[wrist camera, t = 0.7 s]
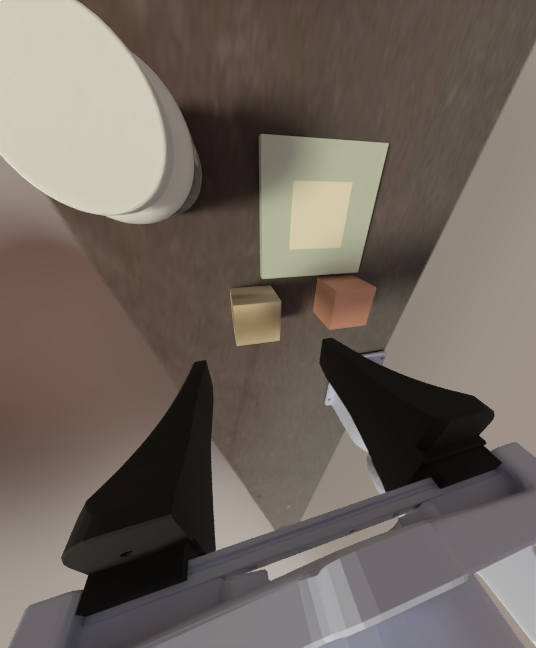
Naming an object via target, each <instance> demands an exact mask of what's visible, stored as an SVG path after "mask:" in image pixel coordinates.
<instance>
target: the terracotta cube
mask: <svg viewBox="0 0 536 648" xmlns="http://www.w3.org/2000/svg"><path fill="white" fill-rule="evenodd" d="M376 289H377V287H375V286H373V285H371V284H369V283H367V282H365V281H363V280H362V279H360V278H358V277H356V276H354V275H340V276H326V277H318V278H317V285H316V292H315V300H314V307H313V312H314V313H315V314H316V315H317V317H318V318H319V319H320V320H321V321H322V322H323V323H324V324H325V325H326V327H327V328H328V329H329V330H331V329H339V328H347V327H355V326H363V325H366V322H367V319H368V315H369V312H370V309H371V305H372V302H373V299H374V295H375V292H376Z"/></svg>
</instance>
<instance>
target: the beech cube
mask: <svg viewBox="0 0 536 648" xmlns="http://www.w3.org/2000/svg"><path fill="white" fill-rule="evenodd" d="M230 295H231V306H232V316H233V325H234V332H235V338H236V344H237V346H242V345H249V344H257V343H264V342H272V341H280V322H281V300H280V299H279V297H278V296H277V294H276V293H275V291H274V290H273V288H272V287H271V285H268V286H254V287H241V288H230Z"/></svg>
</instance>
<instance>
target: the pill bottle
mask: <svg viewBox="0 0 536 648" xmlns="http://www.w3.org/2000/svg"><path fill="white" fill-rule="evenodd" d="M0 155H1V156H2V157H3V158H4V159H5V160H6V161H7V162H8V163H9V164H10V165H11V166H12V167H13V168H14V169H15V170H16V171H17V172H18V173H19V174H20V175H21V176H22V177H24V178H25V179H26V180H27V181H29V182H30V183H31V184H32V185H34V186H35V187H36V188H38V189H39V190H41V191H42V192H44V193H45V194H47V195H48V196H50V197H52V198H54V199H55V200H57V201H59V202H61V203H63V204H65V205H68V206H70V207H72V208H75V209H78V210H81V211H84V212H88V213H92V214H97V215H105V216H107V217H109V218H112V219H115V220H118V221H122V222H126V223H133V224H149V223H155V222H158V221H162V220H164V219H167V218H169V217H172V216H175V215H178V214H181V213H183V212H185V211H187V210H188V209H189V208H190V207H191V206H192V205H193V204H194V203H195V201H196V200H197V198H198V196H199V193H200V190H201V185H202V167H201V163H200V159H199V155H198V153H197V150H196V148H195V145H194V143H193V140H192V137H191V135H190V132H189V129H188V127H187V124H186V122H185V119H184V117H183V115H182V113H181V111H180V109H179V107H178V105H177V104H176V102H175V100H174V99H173V97H172V95H171V94H170V92H169V91H168V89H167V88H166V86H165V85H164V84H163V82H162V81H161V80H160V79H159V77H158V76H157V75H156V74H155V73H154V72H153V71H152V70H151V69H150V68H149V67H148V66H147V65H146V64H145V63H144V62H143V61H142V60H141V59H140V58H138V57H137V56H136V55H135V54H133V53H132V52H131V51H129V50H128V48H127V47H126V46H125V45H124V43H123V42H122V41H121V40H120V38H119V37H118V36H117V35H116V34H115V33H114V32H113V31H112V30H111V29H110V28H109V27H108V26H107V25H106V24H105V23H104V22H103V21H102V20H101V19H100V18H99V17H98V16H97V15H95V14H94V13H93V12H92V11H91V10H89V9H88V8H87V7H86V6H84V5H83V4H82V3H80V2H78V1H77V0H0Z"/></svg>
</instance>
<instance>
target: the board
mask: <svg viewBox="0 0 536 648" xmlns="http://www.w3.org/2000/svg"><path fill="white" fill-rule="evenodd" d="M388 145H389V143H378V142H364V141H351V140H337V139H324V138H310V137H297V136H283V135H270V134H260V136H259V201H260V274H261V278H262V279H269V278H283V277H298V276H312V275H327V274H341V273H356V272H358V270H359V266H360V262H361V258H362V254H363V249H364V245H365V241H366V237H367V233H368V229H369V224H370V220H371V216H372V212H373V208H374V204H375V199H376V195H377V191H378V187H379V183H380V178H381V174H382V170H383V166H384V162H385V158H386V153H387V149H388Z"/></svg>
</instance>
